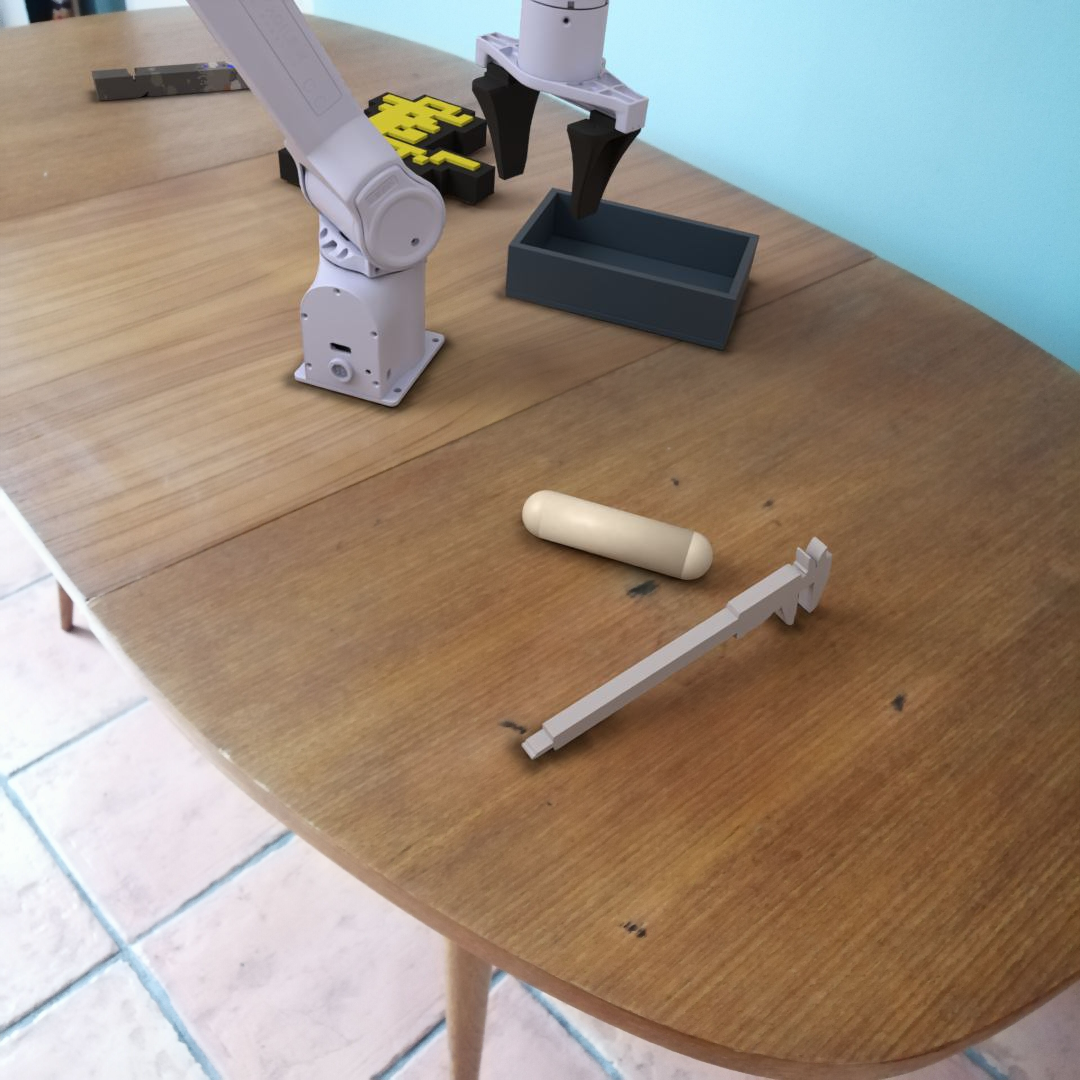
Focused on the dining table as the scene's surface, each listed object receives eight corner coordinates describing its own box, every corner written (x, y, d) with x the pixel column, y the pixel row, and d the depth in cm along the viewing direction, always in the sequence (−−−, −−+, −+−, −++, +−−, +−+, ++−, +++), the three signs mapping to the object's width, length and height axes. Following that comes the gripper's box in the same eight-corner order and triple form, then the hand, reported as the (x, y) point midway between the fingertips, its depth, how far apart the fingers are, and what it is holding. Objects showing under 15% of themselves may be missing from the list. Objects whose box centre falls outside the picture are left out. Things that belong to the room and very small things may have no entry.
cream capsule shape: (702, 595, 60) (712, 561, 58) (514, 540, 62) (517, 504, 60) (711, 563, 62) (721, 528, 60) (529, 510, 65) (533, 475, 62)
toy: (268, 143, 92) (399, 83, 105) (272, 178, 94) (399, 114, 107) (430, 203, 86) (547, 131, 99) (429, 238, 89) (544, 163, 101)
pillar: (91, 70, 103) (285, 56, 110) (96, 92, 104) (287, 77, 112) (94, 78, 102) (290, 64, 109) (99, 100, 103) (292, 84, 110)
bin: (723, 350, 80) (735, 299, 77) (504, 296, 83) (508, 244, 80) (747, 283, 88) (759, 234, 84) (547, 235, 91) (552, 187, 88)
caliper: (801, 601, 61) (831, 526, 56) (814, 613, 60) (845, 538, 56) (520, 748, 52) (530, 672, 47) (532, 764, 51) (543, 688, 47)
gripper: (690, 18, 64) (655, 217, 74) (530, -43, 71) (516, 147, 80) (618, 38, 61) (591, 245, 70) (456, -29, 67) (450, 169, 77)
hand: (546, 194), depth 75 cm, fingers open, 7 cm apart
